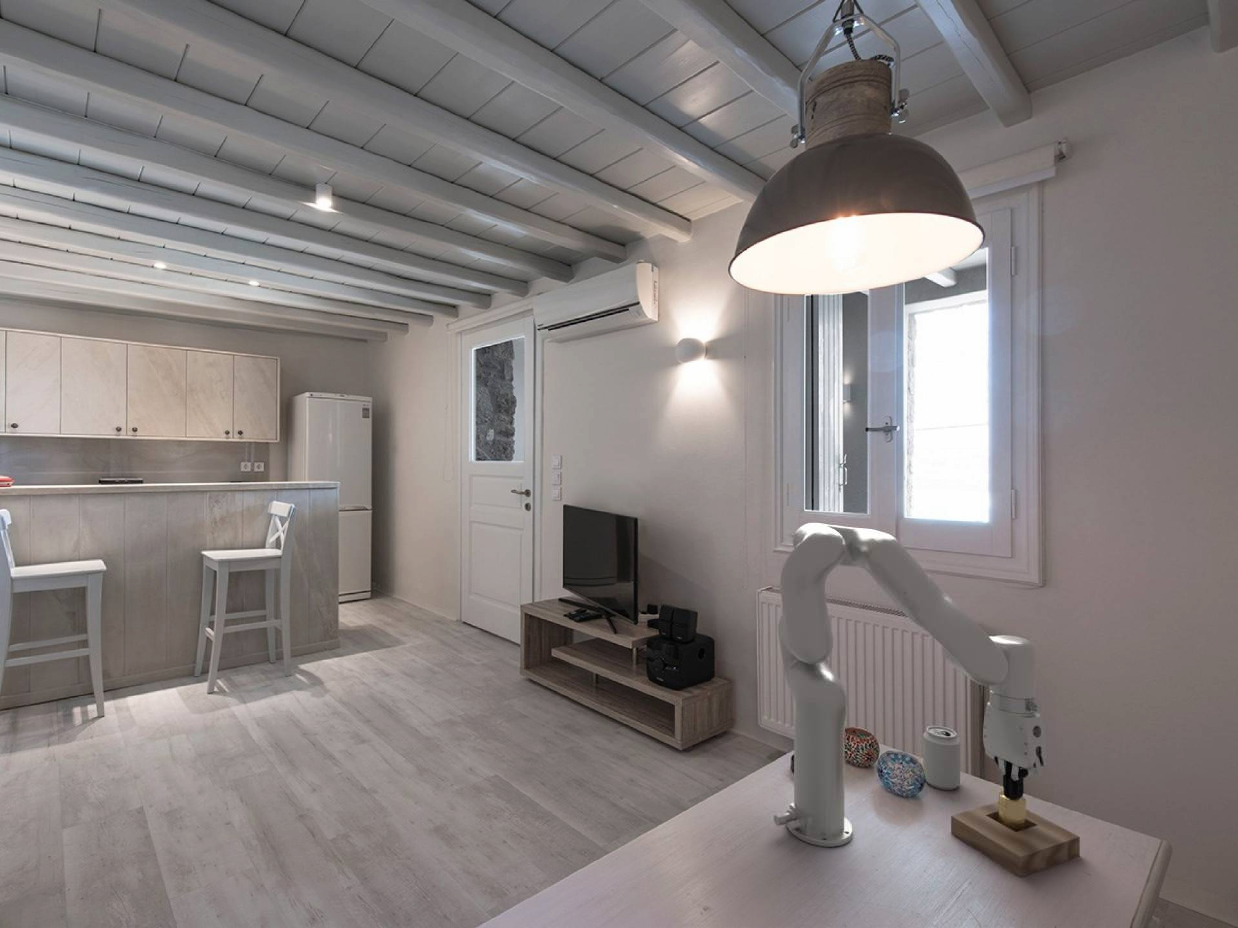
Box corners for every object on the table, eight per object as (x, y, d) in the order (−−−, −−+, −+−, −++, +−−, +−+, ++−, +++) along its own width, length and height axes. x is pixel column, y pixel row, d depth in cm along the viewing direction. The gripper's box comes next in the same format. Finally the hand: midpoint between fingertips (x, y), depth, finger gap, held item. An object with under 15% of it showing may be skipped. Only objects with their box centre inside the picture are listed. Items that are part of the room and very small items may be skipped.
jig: (1020, 876, 109) (1020, 856, 109) (951, 833, 122) (951, 815, 122) (1079, 855, 115) (1079, 836, 115) (1007, 816, 128) (1007, 799, 128)
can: (965, 793, 137) (964, 738, 137) (928, 789, 139) (928, 735, 139) (953, 776, 144) (953, 725, 144) (919, 773, 146) (919, 722, 146)
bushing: (1014, 847, 117) (1015, 804, 118) (992, 833, 122) (993, 792, 122) (1030, 842, 119) (1031, 800, 119) (1008, 829, 123) (1009, 789, 123)
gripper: (1064, 712, 115) (1066, 811, 115) (989, 686, 129) (991, 775, 129) (1037, 718, 112) (1039, 820, 112) (963, 691, 126) (965, 782, 126)
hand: (1013, 796), depth 120 cm, fingers closed
